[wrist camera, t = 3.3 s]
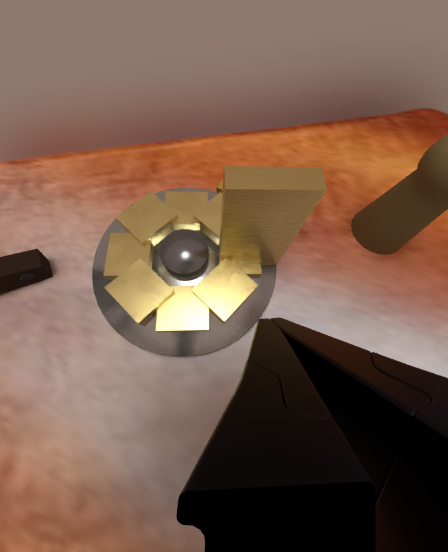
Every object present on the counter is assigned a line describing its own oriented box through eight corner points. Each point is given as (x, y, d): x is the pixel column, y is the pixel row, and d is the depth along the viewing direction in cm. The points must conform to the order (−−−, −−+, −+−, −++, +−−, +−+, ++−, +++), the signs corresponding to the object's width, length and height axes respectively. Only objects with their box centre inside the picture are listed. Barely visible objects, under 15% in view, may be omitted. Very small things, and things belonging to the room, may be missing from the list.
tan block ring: (101, 333, 19) (-16, 307, 9) (121, 199, 24) (59, 87, 14) (283, 329, 20) (352, 299, 10) (268, 200, 25) (304, 96, 15)
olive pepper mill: (387, 264, 25) (513, 196, 14) (341, 230, 26) (427, 144, 16) (412, 231, 26) (542, 148, 16) (368, 200, 28) (461, 105, 17)
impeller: (197, 402, 19) (194, 410, 16) (58, 276, 22) (33, 262, 19) (305, 254, 25) (319, 238, 21) (181, 169, 28) (177, 145, 25)
